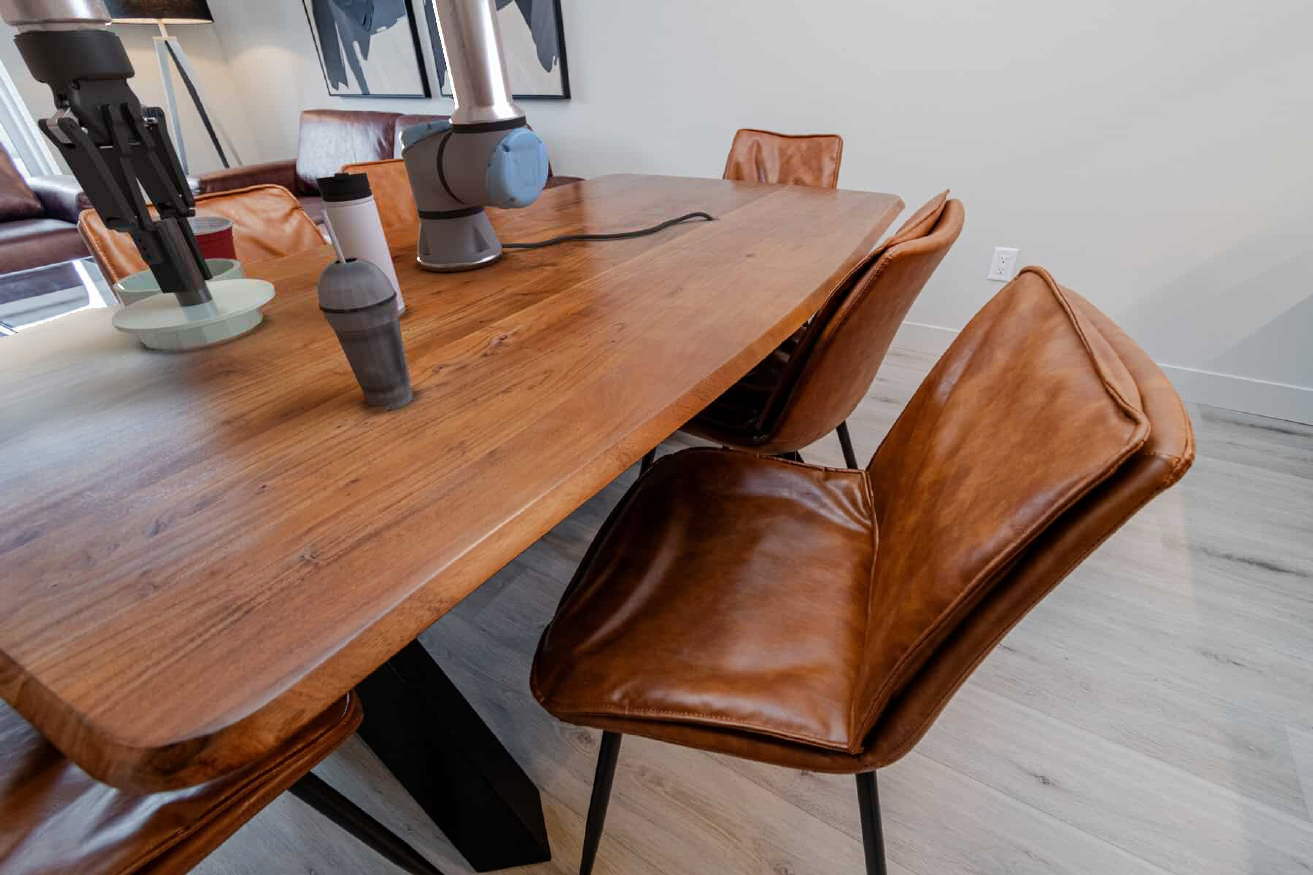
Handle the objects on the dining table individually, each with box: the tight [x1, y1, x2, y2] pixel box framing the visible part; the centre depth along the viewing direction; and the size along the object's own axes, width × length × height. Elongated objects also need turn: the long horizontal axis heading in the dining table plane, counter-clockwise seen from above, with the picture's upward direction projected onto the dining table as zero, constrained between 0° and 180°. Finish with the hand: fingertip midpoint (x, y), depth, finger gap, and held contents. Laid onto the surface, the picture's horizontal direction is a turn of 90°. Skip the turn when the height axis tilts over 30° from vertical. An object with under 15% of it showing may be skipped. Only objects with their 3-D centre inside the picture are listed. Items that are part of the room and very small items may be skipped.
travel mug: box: [315, 171, 406, 316], centre depth 83 cm, size 6×7×20 cm
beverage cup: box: [316, 209, 414, 411], centre depth 61 cm, size 7×7×20 cm
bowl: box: [112, 258, 264, 351], centre depth 84 cm, size 15×15×8 cm
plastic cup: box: [187, 215, 238, 261], centre depth 98 cm, size 11×11×12 cm
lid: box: [111, 215, 277, 335], centre depth 65 cm, size 16×16×10 cm
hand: (188, 285), depth 66 cm, fingers closed on lid, 3 cm apart
